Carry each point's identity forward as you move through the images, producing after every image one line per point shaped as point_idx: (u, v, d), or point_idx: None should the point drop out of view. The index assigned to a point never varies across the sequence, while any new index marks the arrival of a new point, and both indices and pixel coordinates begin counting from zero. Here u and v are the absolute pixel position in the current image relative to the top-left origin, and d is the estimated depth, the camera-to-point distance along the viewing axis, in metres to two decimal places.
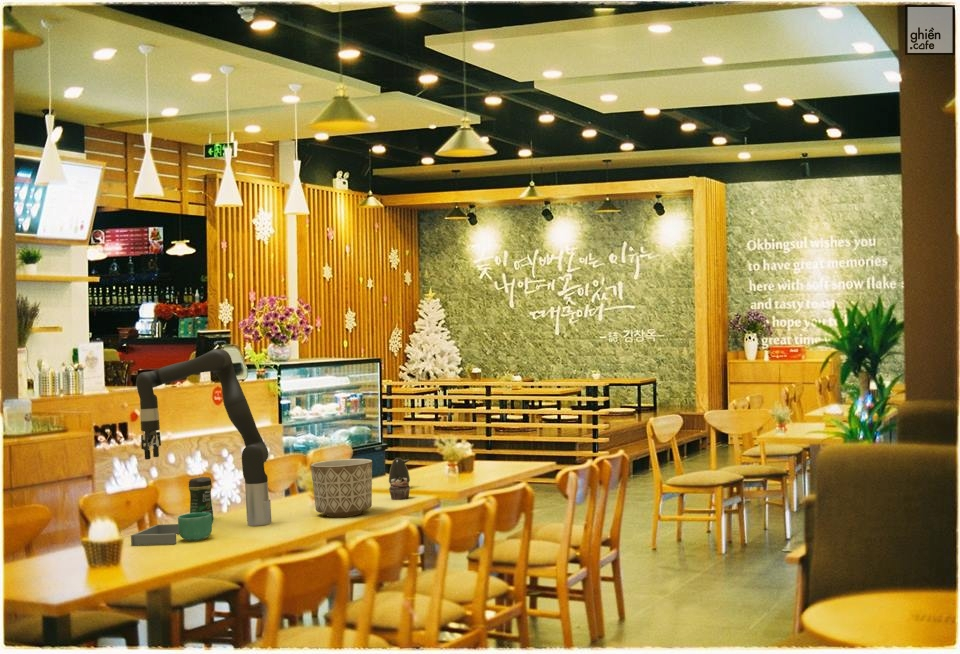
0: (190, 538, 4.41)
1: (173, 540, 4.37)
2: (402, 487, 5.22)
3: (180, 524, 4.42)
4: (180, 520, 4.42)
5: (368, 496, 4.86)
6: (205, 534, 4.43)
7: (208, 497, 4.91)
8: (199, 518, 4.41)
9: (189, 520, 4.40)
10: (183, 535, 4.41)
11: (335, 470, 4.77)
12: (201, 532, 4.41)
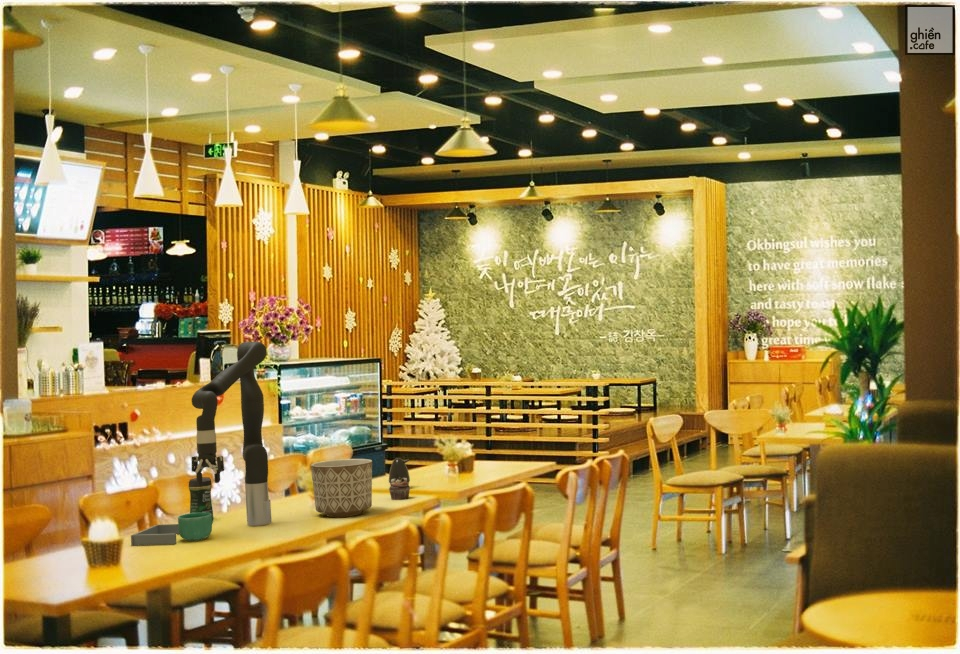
0: (190, 538, 4.41)
1: (173, 540, 4.37)
2: (402, 487, 5.22)
3: (180, 524, 4.42)
4: (180, 520, 4.42)
5: (368, 496, 4.86)
6: (205, 534, 4.43)
7: (208, 497, 4.91)
8: (199, 518, 4.41)
9: (189, 520, 4.40)
10: (183, 535, 4.41)
11: (335, 470, 4.77)
12: (201, 532, 4.41)
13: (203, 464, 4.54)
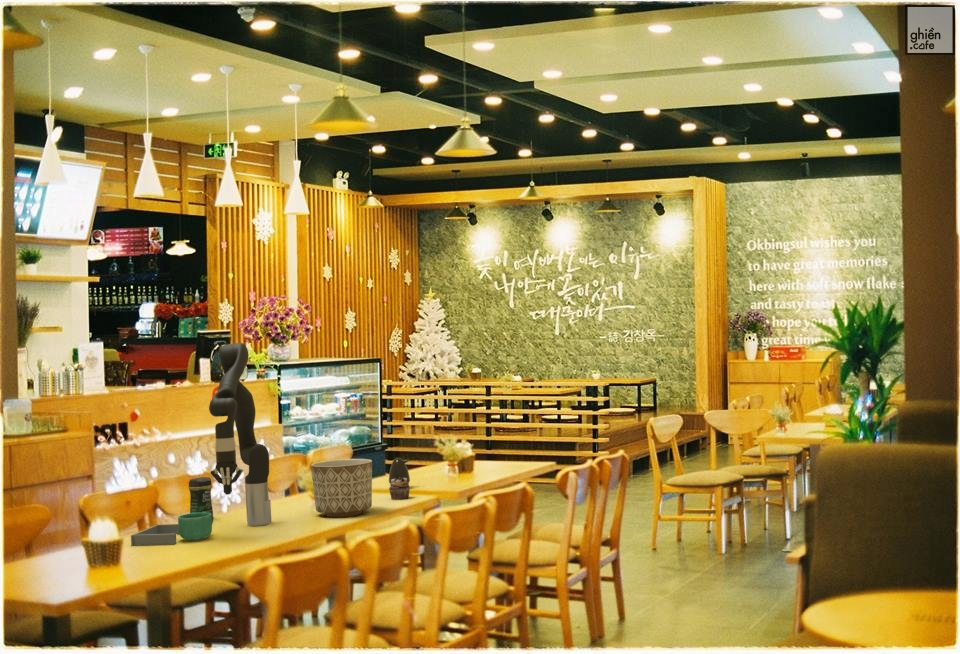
0: (190, 538, 4.41)
1: (173, 540, 4.37)
2: (402, 487, 5.22)
3: (180, 524, 4.42)
4: (180, 520, 4.42)
5: (368, 496, 4.86)
6: (205, 534, 4.43)
7: (208, 497, 4.91)
8: (199, 518, 4.41)
9: (189, 520, 4.40)
10: (183, 535, 4.41)
11: (335, 470, 4.77)
12: (201, 532, 4.41)
13: (225, 471, 4.45)
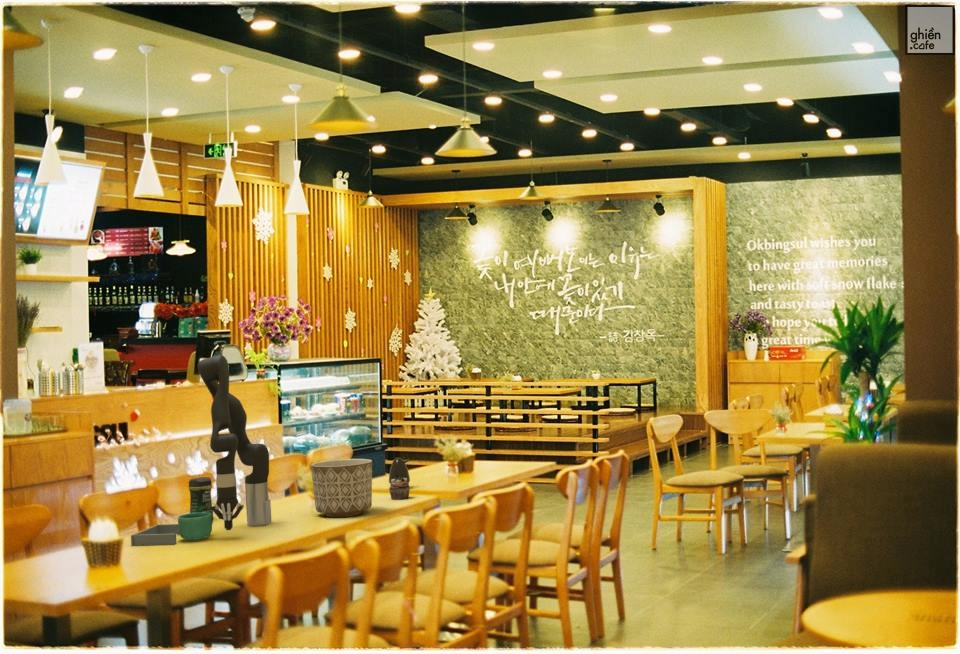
0: (190, 538, 4.41)
1: (173, 540, 4.37)
2: (402, 487, 5.22)
3: (180, 524, 4.42)
4: (180, 520, 4.42)
5: (368, 496, 4.86)
6: (205, 534, 4.43)
7: (208, 497, 4.91)
8: (199, 518, 4.41)
9: (189, 520, 4.40)
10: (183, 535, 4.41)
11: (335, 470, 4.77)
12: (201, 532, 4.41)
13: (226, 507, 4.45)
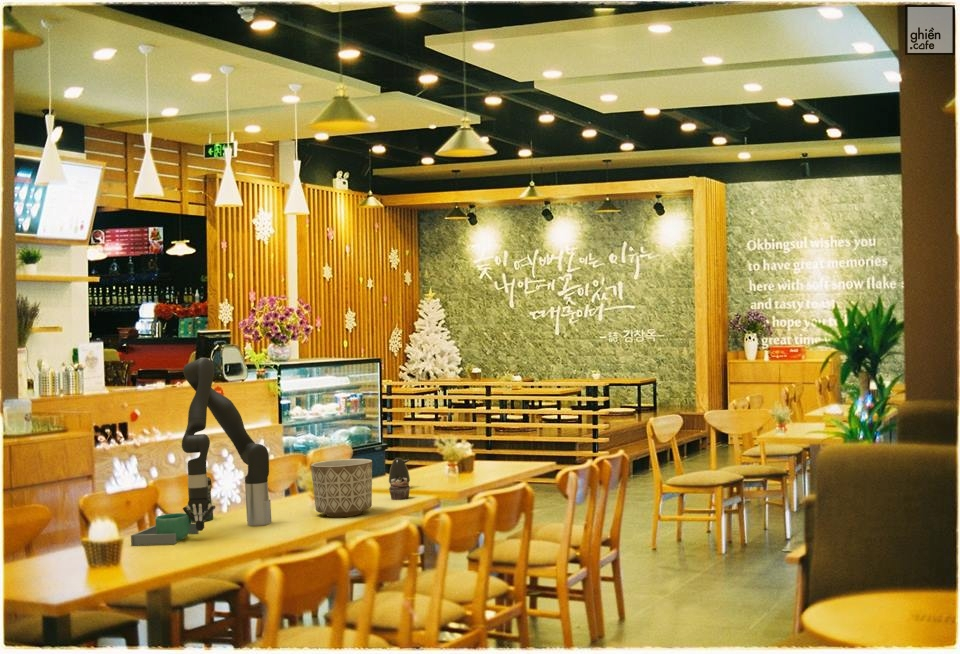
0: None
1: (173, 540, 4.37)
2: (402, 487, 5.22)
3: (157, 525, 4.43)
4: (157, 521, 4.42)
5: (368, 496, 4.86)
6: (182, 535, 4.43)
7: (208, 497, 4.91)
8: (175, 518, 4.41)
9: (166, 521, 4.41)
10: None
11: (335, 470, 4.77)
12: (177, 533, 4.42)
13: (197, 507, 4.46)
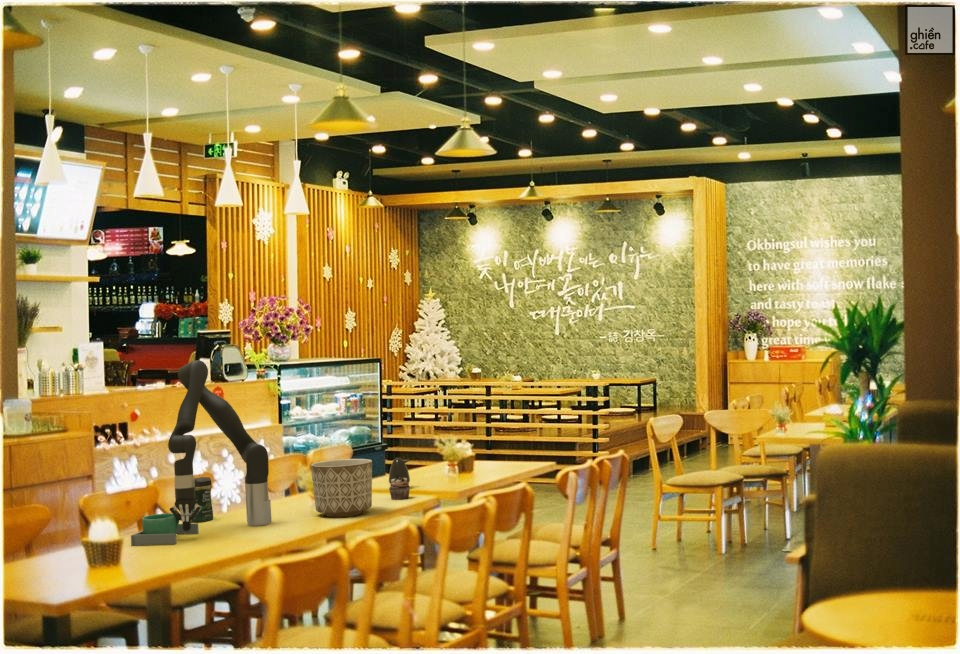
0: None
1: (173, 540, 4.37)
2: (402, 487, 5.22)
3: (144, 525, 4.44)
4: (144, 521, 4.43)
5: (368, 496, 4.86)
6: None
7: (208, 497, 4.91)
8: (162, 519, 4.42)
9: (152, 521, 4.42)
10: None
11: (335, 470, 4.77)
12: (164, 533, 4.43)
13: (184, 508, 4.47)
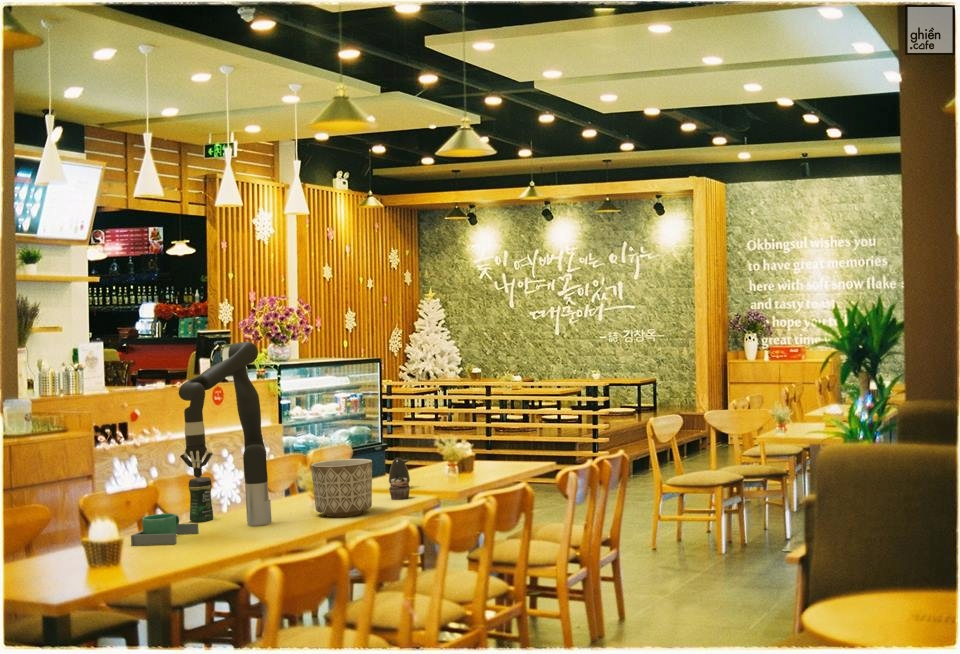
0: None
1: (173, 540, 4.37)
2: (402, 487, 5.22)
3: (144, 525, 4.44)
4: (144, 521, 4.44)
5: (368, 496, 4.86)
6: None
7: (208, 497, 4.91)
8: (162, 519, 4.42)
9: (152, 521, 4.42)
10: None
11: (335, 470, 4.77)
12: (164, 533, 4.43)
13: (195, 455, 4.50)
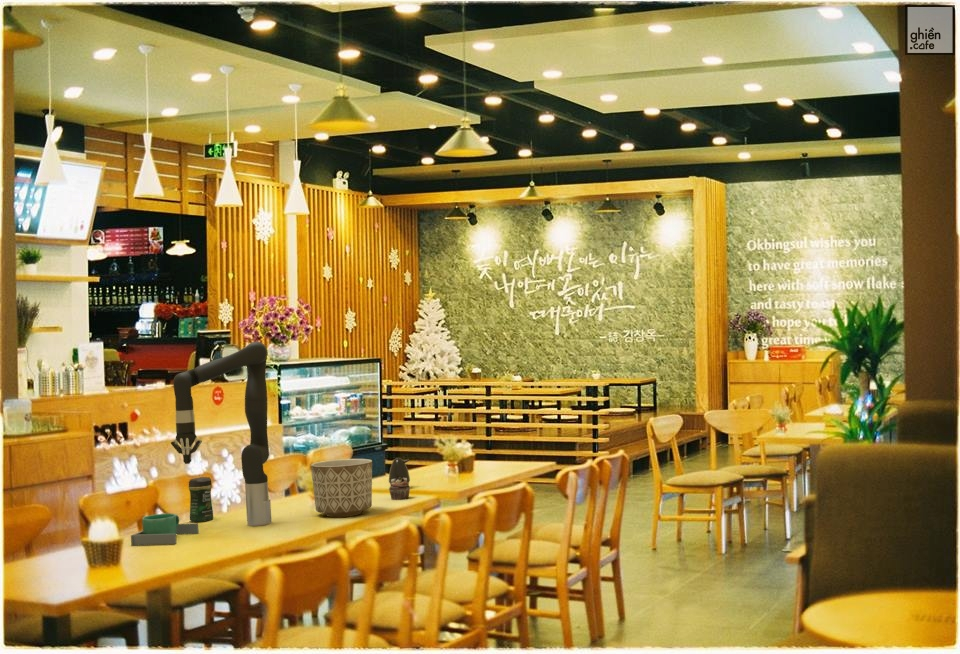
0: None
1: (173, 540, 4.37)
2: (402, 487, 5.22)
3: (144, 525, 4.44)
4: (144, 521, 4.44)
5: (368, 496, 4.86)
6: None
7: (208, 497, 4.91)
8: (162, 519, 4.42)
9: (152, 521, 4.42)
10: None
11: (335, 470, 4.77)
12: (164, 533, 4.43)
13: (185, 442, 4.69)
